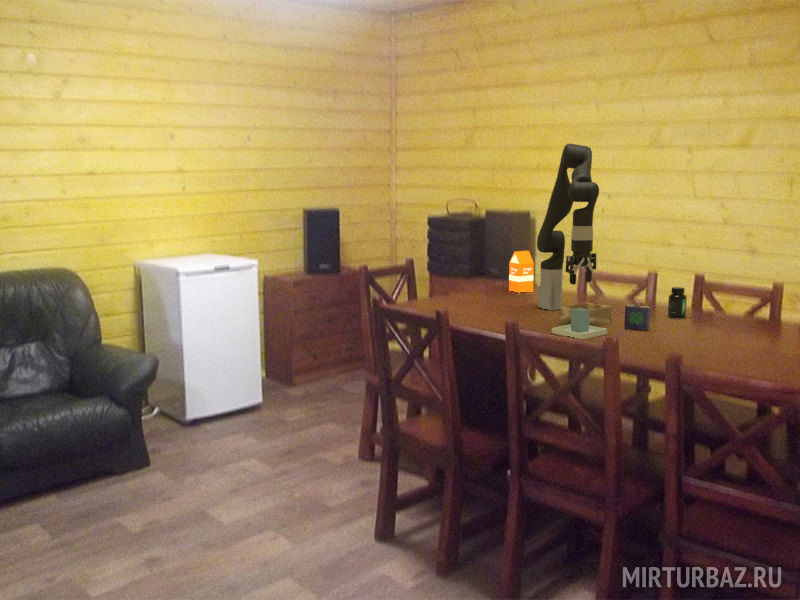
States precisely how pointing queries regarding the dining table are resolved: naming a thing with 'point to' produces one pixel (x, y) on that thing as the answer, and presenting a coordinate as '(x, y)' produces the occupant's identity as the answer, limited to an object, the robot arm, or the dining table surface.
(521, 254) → the orange juice
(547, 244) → the robot arm
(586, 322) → the block
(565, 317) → the crate
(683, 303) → the supplement bottle
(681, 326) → the dining table surface
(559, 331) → the plate
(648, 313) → the flask
